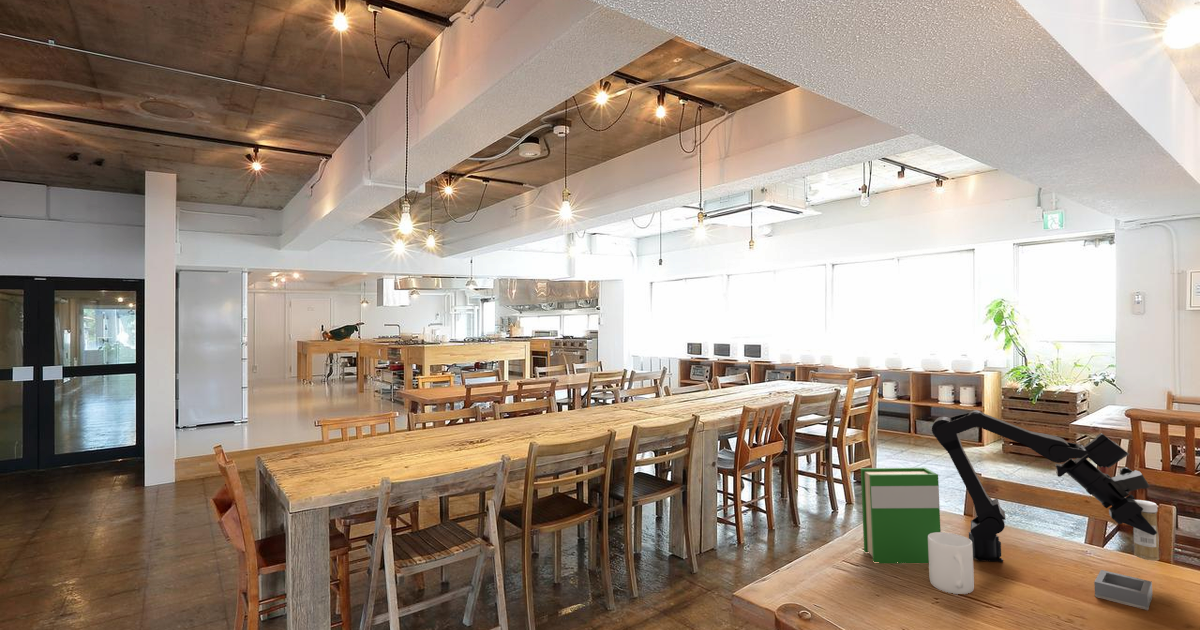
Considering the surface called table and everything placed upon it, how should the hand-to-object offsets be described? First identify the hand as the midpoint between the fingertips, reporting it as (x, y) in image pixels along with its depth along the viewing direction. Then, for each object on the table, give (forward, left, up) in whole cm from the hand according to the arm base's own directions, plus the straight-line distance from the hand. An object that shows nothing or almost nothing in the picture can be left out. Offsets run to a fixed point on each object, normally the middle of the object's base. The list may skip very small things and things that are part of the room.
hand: (1153, 531), depth 138 cm
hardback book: (-53, +13, -13) cm, 56 cm away
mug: (-47, -5, -13) cm, 49 cm away
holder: (-11, -6, -13) cm, 18 cm away
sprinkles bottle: (-1, 0, -7) cm, 7 cm away
